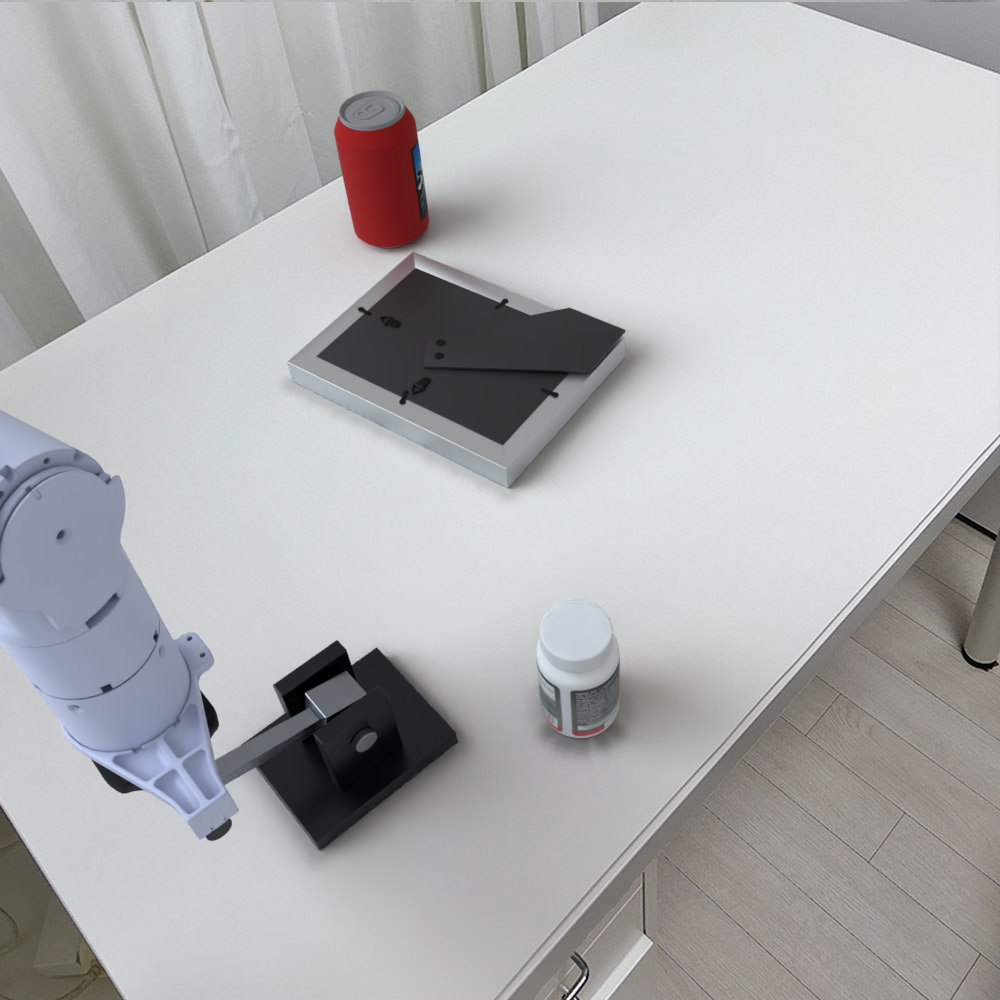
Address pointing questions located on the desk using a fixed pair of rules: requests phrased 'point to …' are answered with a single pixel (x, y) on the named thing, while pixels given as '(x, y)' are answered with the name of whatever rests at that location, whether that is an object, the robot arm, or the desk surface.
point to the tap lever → (289, 732)
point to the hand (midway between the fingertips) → (185, 783)
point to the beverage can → (382, 169)
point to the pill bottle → (578, 669)
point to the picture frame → (460, 365)
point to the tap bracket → (352, 744)
